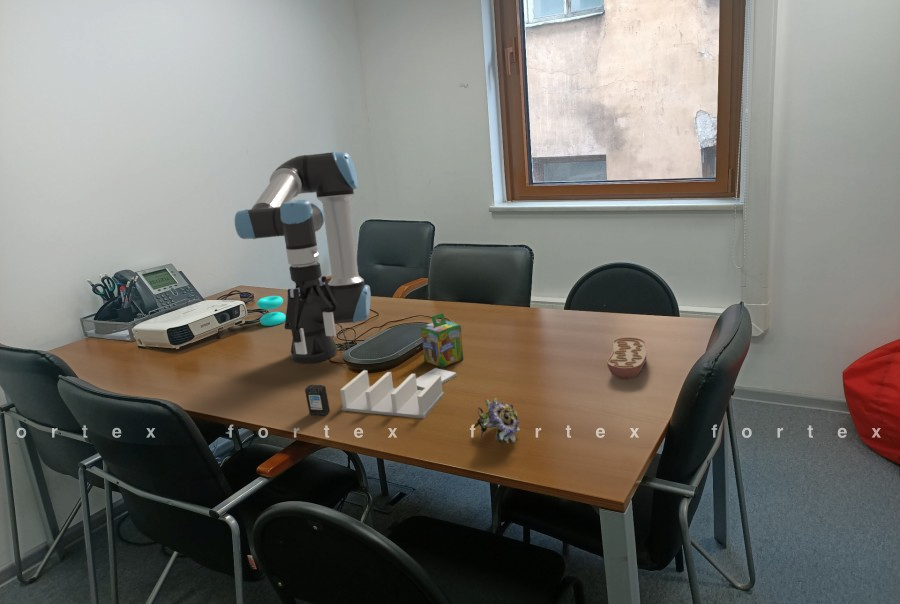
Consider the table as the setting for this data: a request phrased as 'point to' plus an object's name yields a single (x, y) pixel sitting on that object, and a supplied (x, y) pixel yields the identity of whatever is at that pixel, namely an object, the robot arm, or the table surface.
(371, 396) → the divider rack
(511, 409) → the passion flower
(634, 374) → the anatomical model
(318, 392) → the ink cartridge
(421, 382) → the external hard drive
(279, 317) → the donuts
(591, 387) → the table surface
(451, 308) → the table surface
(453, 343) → the chalk box
